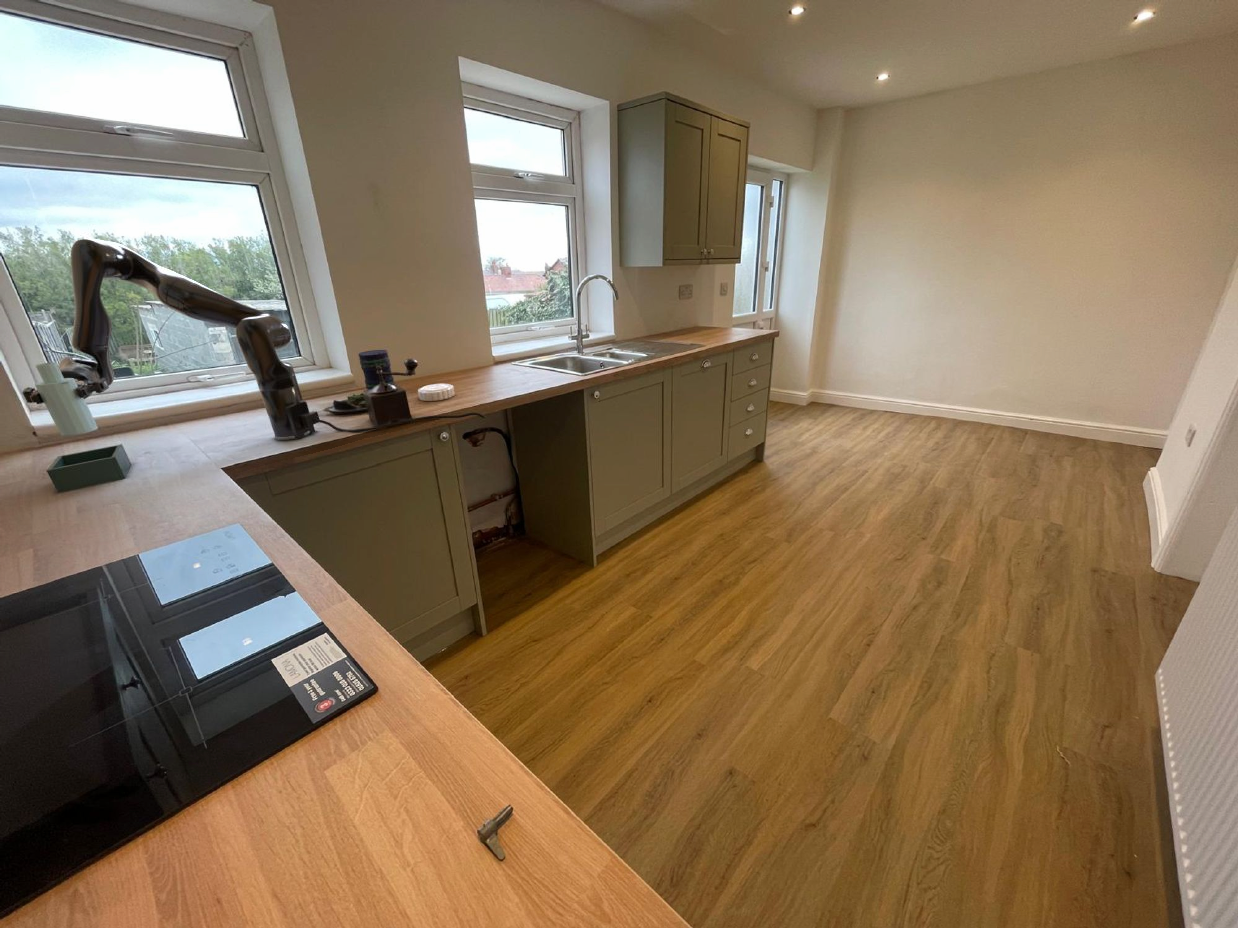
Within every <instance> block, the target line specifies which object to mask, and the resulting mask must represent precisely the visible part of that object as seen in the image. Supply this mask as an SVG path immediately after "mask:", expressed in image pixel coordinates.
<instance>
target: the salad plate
mask: <svg viewBox="0 0 1238 928" xmlns="http://www.w3.org/2000/svg"><path fill="white" fill-rule="evenodd" d="M322 411H323V412H328V413H331V414H332V415H334V416H339V417H341V416H342V417H343V416H345V417H346V416H353V415H354V416H355V415H363V414H368V411H367V407H366V402H365V398H364V394H363V392H361V393H360V392H357V393H356V394H354V393H352V395H349V396H347V397H346V399H342V400H336V399H335V400H333V402H332V405H331V406H328V407H326V408H324V409H322Z"/></svg>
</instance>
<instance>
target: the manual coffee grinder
mask: <svg viewBox="0 0 1238 928" xmlns="http://www.w3.org/2000/svg"><path fill="white" fill-rule="evenodd" d="M403 361H404V362H403V364H404V366H405V368H406V371H405V372H399V371H398V372H397V371H393V372H392V371H391V372H388V373H387V372H382V371H381V367H380V366H377V370H378V371H377V373H378V374H379V378H380V384H379V385H377V386H375V387H374V388H373V389H369V390H367V389H365V390H364V389H363V390H362V393H363V394H364V398H365V402H366V407H367V411H368V413H367V415H368V419H369V420H370V422H371V423H372V424H373V425H374V427H376V426H381V425H385V424H389V423H394V422H399V421H404V420H409V419H413V417H412V413H411V410H410V404H409V399H408V395H407V391H406V389H405V388H403V387H401V386H400V385H397V384H395V385H392V384H388V383H384V381H383V377H382V374H384V375H392V376H403V377H412V376H415V375H416V368H417V367H418V366H419V363H418V361H417V360H415V359H414V358H407V359H405V360H403Z"/></svg>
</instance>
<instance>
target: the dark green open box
mask: <svg viewBox="0 0 1238 928" xmlns="http://www.w3.org/2000/svg"><path fill="white" fill-rule="evenodd" d="M131 466H132V461H131V460H130V458H129V456H128V454H127V452H126V450H125V447H124V445H123V444H122V443H121V444H116V445H111V446H106V447H105V446H104V447H99V448H95V449H89V450H84V451H78V452H75V453H69V454H63V455H58V456H56V458H55V459H54V460H53V462H52V463H51V464H50V465H49V466H48V468H47V469H46V470H45V472H46V474H47V476H48V477H49V478H50V480H51V482H52V484H53V486H54V488H55V490H56V491H57V493H63V492H68V491H72V490H76V489H81V488H85V487H90V486H95V485H100V484H104V483H109V482H114V481H117V480H122V479H126V478H127V476H128V474H129V470H130V468H131Z"/></svg>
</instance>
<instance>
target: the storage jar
mask: <svg viewBox="0 0 1238 928" xmlns="http://www.w3.org/2000/svg"><path fill="white" fill-rule="evenodd" d="M357 356H358V357H359V358H358V359H359V365H360V368H361V370H362V372H363V376H364V384H365V389H366V390H369V389H373V388H374V387H375V386H377V385H379V384H380V378H379V374H378V373H377V371H378V370H377V366H380V367H381V371H382V372H387V373H388V372H392V368H391V365H392V364H391V360H390V356H389V352H388V350H387V349H375V350H373V349H372V350H367V351H362V352H359V353H358V355H357ZM382 377H383V381H384V383H388V384H392V385H396V382H395V378H394V375H384V374H382Z"/></svg>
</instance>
